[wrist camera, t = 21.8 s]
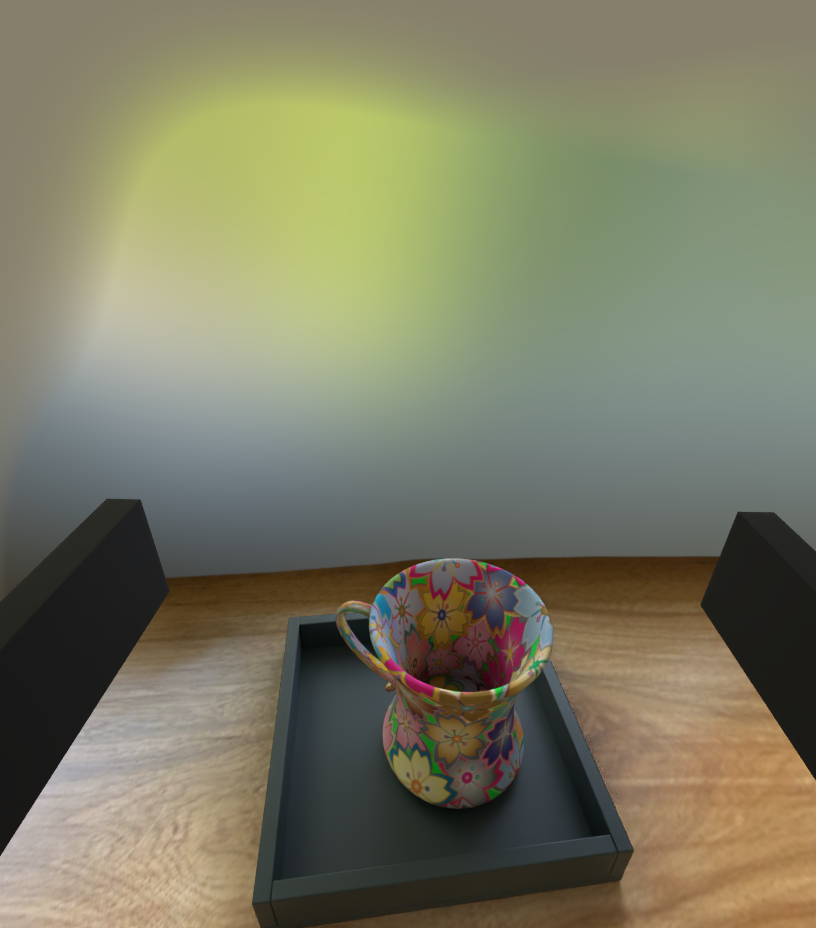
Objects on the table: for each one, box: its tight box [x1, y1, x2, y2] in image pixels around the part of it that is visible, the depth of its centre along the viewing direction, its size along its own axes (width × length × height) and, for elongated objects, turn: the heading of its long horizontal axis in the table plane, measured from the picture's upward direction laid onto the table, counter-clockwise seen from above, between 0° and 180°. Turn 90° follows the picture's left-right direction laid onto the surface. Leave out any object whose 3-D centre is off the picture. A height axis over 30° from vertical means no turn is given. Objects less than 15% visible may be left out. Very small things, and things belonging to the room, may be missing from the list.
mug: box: [335, 559, 553, 809], centre depth 28 cm, size 12×9×11 cm
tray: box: [252, 612, 634, 928], centre depth 30 cm, size 18×17×3 cm
